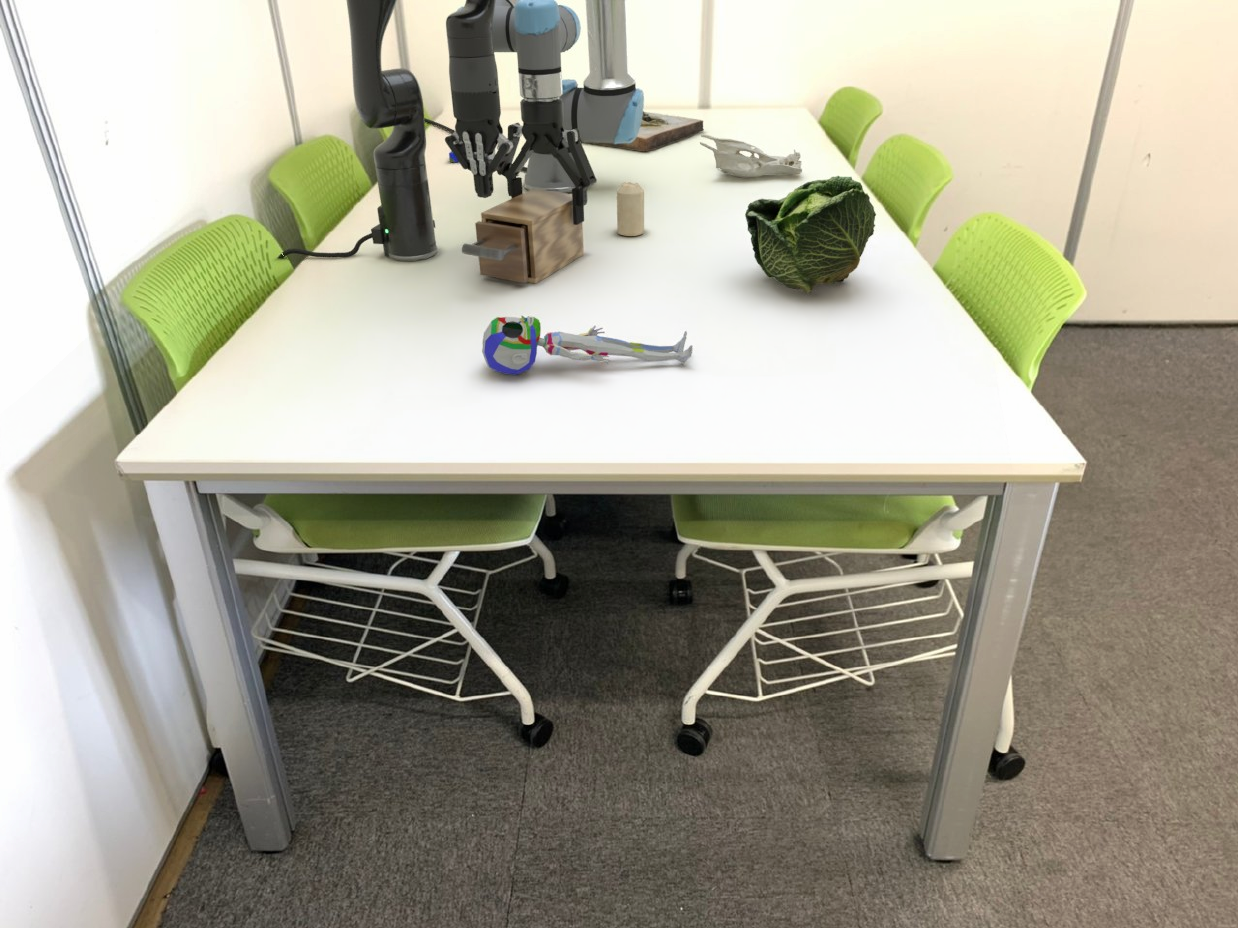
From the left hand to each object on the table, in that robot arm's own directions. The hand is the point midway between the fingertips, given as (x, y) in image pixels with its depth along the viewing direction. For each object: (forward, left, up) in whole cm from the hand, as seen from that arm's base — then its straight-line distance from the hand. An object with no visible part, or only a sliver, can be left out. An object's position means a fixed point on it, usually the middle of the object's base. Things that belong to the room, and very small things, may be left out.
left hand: (485, 196), depth 150 cm
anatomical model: (+33, +86, -16) cm, 93 cm away
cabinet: (+3, +14, -16) cm, 21 cm away
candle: (+16, +36, -16) cm, 42 cm away
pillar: (-46, +91, -16) cm, 104 cm away
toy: (+25, -26, -16) cm, 40 cm away
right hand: (+4, +19, -9) cm, 21 cm away
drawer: (+2, +8, -15) cm, 17 cm away
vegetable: (+53, +15, -16) cm, 58 cm away
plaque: (-6, +122, -16) cm, 123 cm away
